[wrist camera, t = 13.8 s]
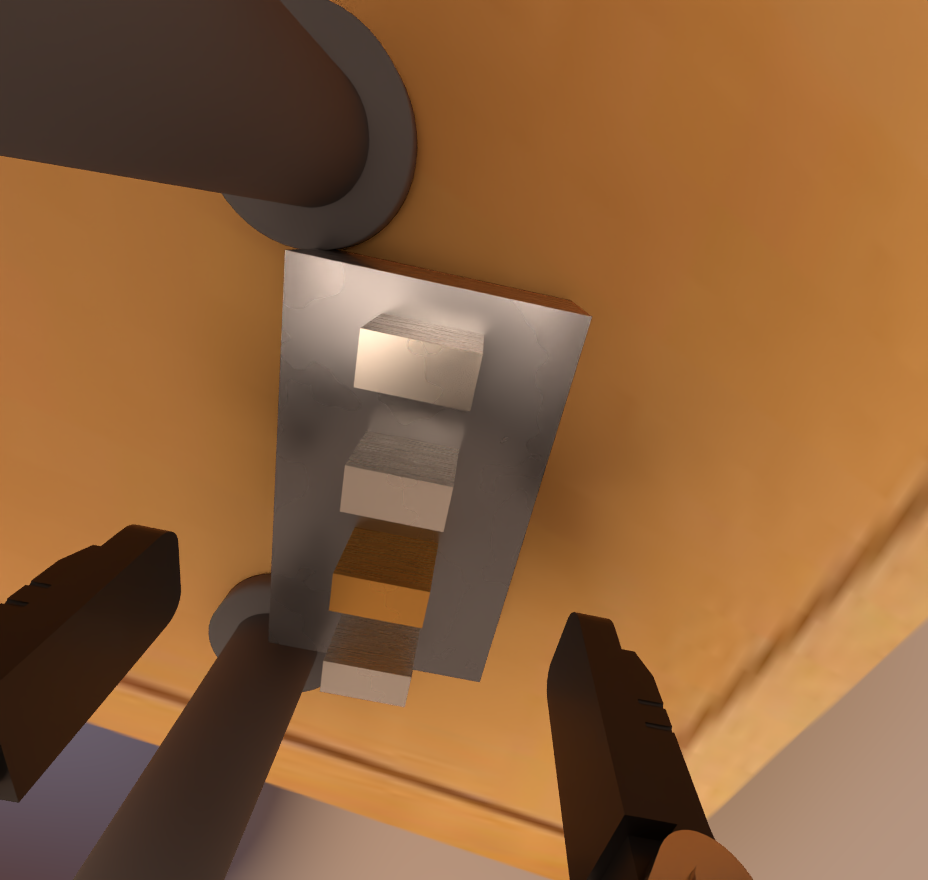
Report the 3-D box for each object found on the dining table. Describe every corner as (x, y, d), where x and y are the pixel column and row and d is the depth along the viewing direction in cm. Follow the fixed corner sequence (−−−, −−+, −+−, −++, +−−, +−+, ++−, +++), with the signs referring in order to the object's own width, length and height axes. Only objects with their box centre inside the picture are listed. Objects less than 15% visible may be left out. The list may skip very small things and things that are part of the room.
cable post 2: (221, 562, 18) (-488, 1417, 5) (356, 588, 18) (17, 1480, 5) (222, 659, 20) (-272, 1437, 7) (343, 681, 20) (79, 1484, 7)
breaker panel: (328, 247, 13) (240, 252, 8) (570, 300, 13) (613, 333, 9) (302, 579, 18) (237, 698, 13) (481, 614, 18) (478, 742, 13)
